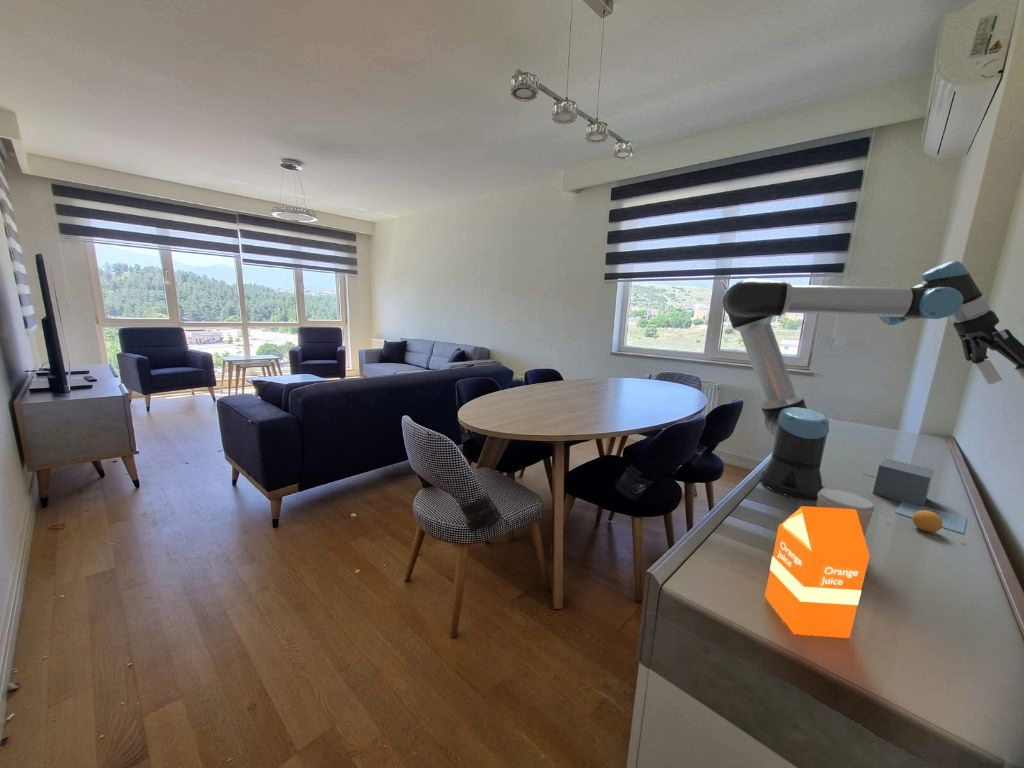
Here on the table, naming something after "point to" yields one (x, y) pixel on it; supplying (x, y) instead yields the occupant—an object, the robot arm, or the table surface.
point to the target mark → (948, 519)
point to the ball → (927, 521)
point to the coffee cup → (847, 504)
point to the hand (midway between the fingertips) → (1016, 385)
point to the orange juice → (818, 571)
